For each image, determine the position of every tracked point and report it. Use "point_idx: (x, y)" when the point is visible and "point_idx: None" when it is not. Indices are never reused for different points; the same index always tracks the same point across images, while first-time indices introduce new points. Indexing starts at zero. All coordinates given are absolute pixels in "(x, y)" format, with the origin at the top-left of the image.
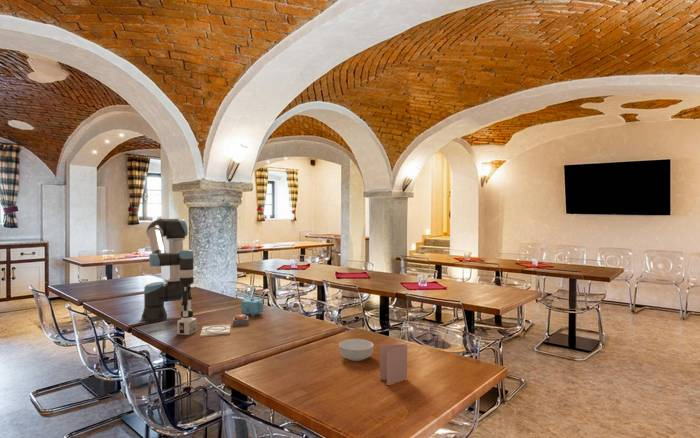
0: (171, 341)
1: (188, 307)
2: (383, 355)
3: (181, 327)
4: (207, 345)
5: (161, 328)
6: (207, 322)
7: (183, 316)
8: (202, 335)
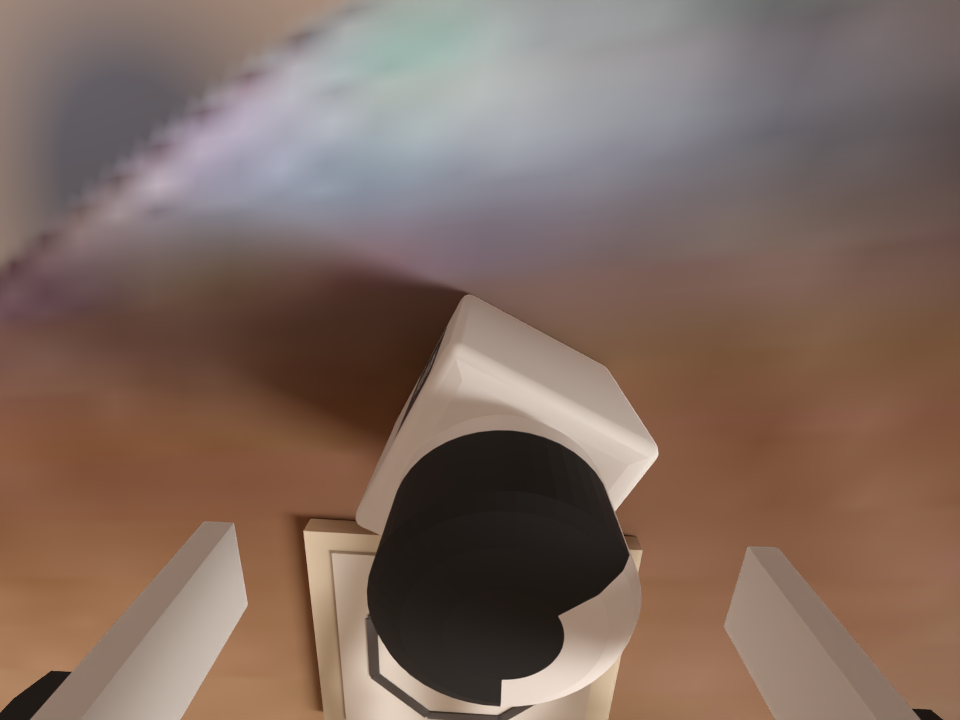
0: (181, 252)
1: (783, 670)
2: None
3: (425, 373)
4: (50, 572)
5: (869, 19)
6: (846, 572)
7: (201, 535)
8: (307, 545)
